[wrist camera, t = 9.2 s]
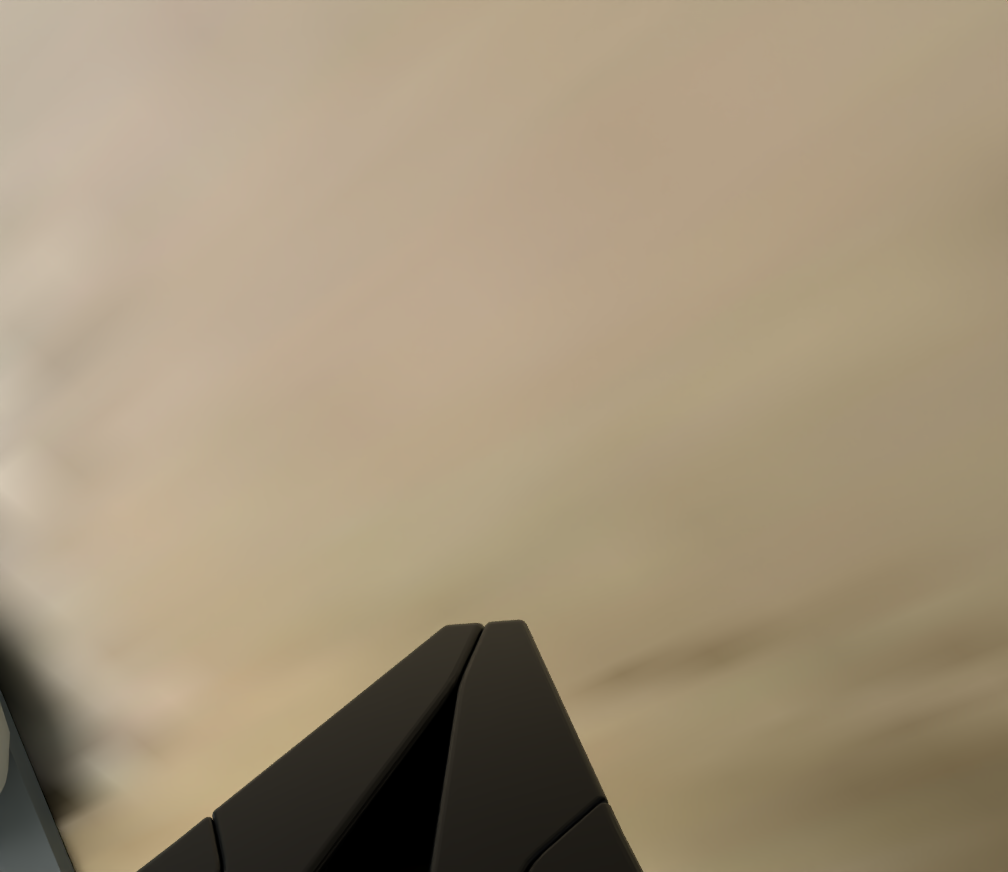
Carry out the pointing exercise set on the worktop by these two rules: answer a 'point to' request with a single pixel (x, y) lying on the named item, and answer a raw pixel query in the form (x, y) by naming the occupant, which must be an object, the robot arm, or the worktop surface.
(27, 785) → the mat
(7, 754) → the donut
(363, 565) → the worktop surface
